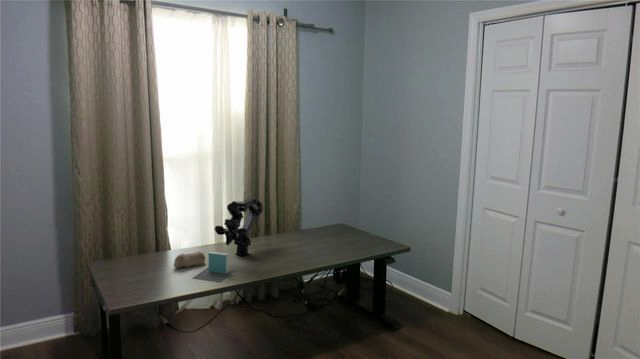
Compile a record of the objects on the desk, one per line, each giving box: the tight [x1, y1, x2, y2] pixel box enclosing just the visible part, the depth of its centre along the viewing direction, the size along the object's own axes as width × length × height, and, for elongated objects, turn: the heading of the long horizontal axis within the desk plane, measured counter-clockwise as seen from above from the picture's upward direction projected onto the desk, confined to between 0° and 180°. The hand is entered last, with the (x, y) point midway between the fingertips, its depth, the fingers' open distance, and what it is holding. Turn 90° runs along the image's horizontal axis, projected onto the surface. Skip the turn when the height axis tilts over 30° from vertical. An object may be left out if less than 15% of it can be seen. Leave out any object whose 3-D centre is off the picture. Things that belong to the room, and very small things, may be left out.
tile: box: [208, 251, 230, 274], centre depth 236 cm, size 3×10×10 cm, turn 76°
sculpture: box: [173, 251, 206, 270], centre depth 244 cm, size 9×17×10 cm
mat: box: [191, 266, 236, 283], centre depth 233 cm, size 18×16×1 cm
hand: (226, 244), depth 245 cm, fingers closed
